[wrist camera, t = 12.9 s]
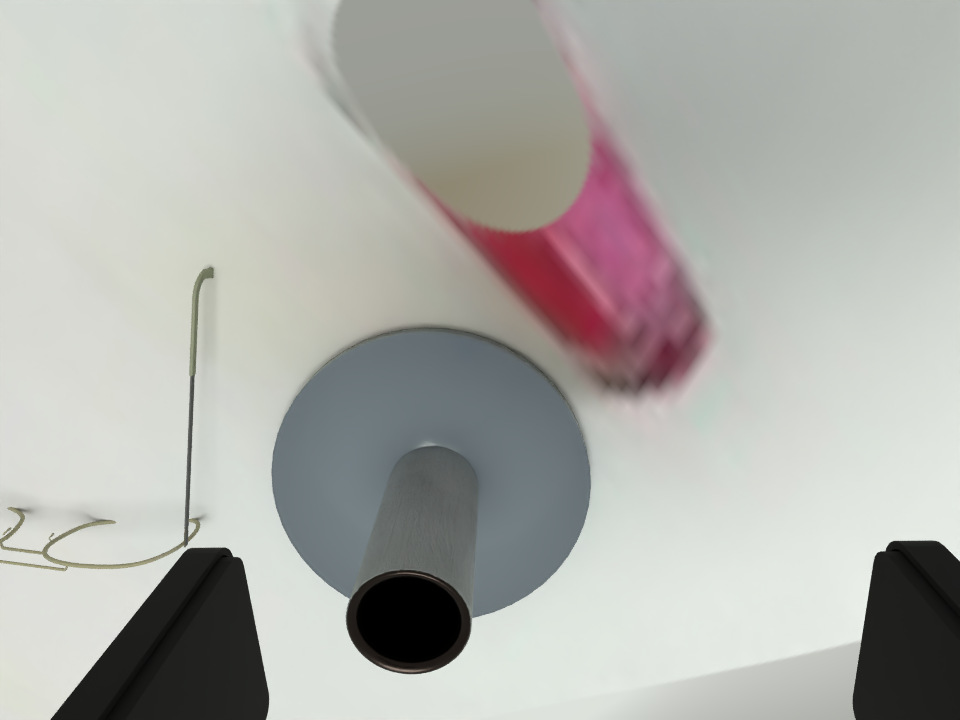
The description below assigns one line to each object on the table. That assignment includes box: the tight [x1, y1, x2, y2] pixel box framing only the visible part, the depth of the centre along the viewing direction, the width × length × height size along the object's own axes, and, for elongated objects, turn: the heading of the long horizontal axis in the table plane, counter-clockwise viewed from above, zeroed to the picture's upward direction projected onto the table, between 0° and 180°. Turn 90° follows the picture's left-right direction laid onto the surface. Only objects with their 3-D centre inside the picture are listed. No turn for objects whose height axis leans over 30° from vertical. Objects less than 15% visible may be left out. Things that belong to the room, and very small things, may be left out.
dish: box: [272, 328, 591, 618], centre depth 35 cm, size 16×16×1 cm
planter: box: [346, 447, 479, 674], centre depth 29 cm, size 4×4×10 cm
